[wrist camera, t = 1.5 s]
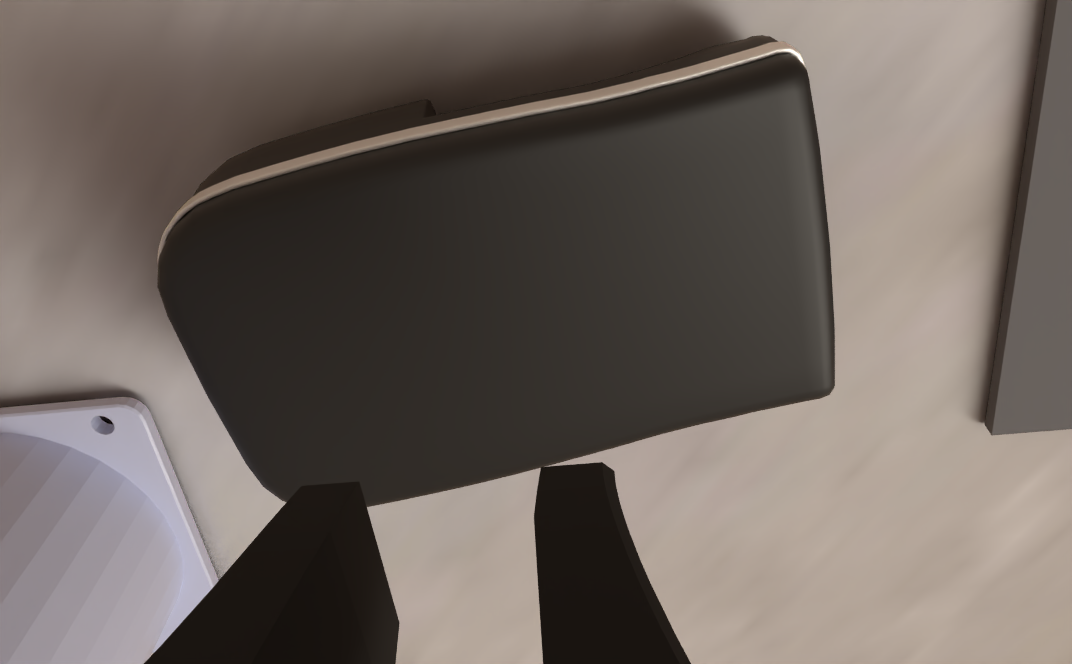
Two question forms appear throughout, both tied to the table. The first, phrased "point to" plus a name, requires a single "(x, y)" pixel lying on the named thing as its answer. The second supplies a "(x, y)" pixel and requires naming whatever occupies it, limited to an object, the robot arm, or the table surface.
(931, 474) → the table surface
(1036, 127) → the mat
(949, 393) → the table surface
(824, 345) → the battery charger
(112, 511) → the robot arm
